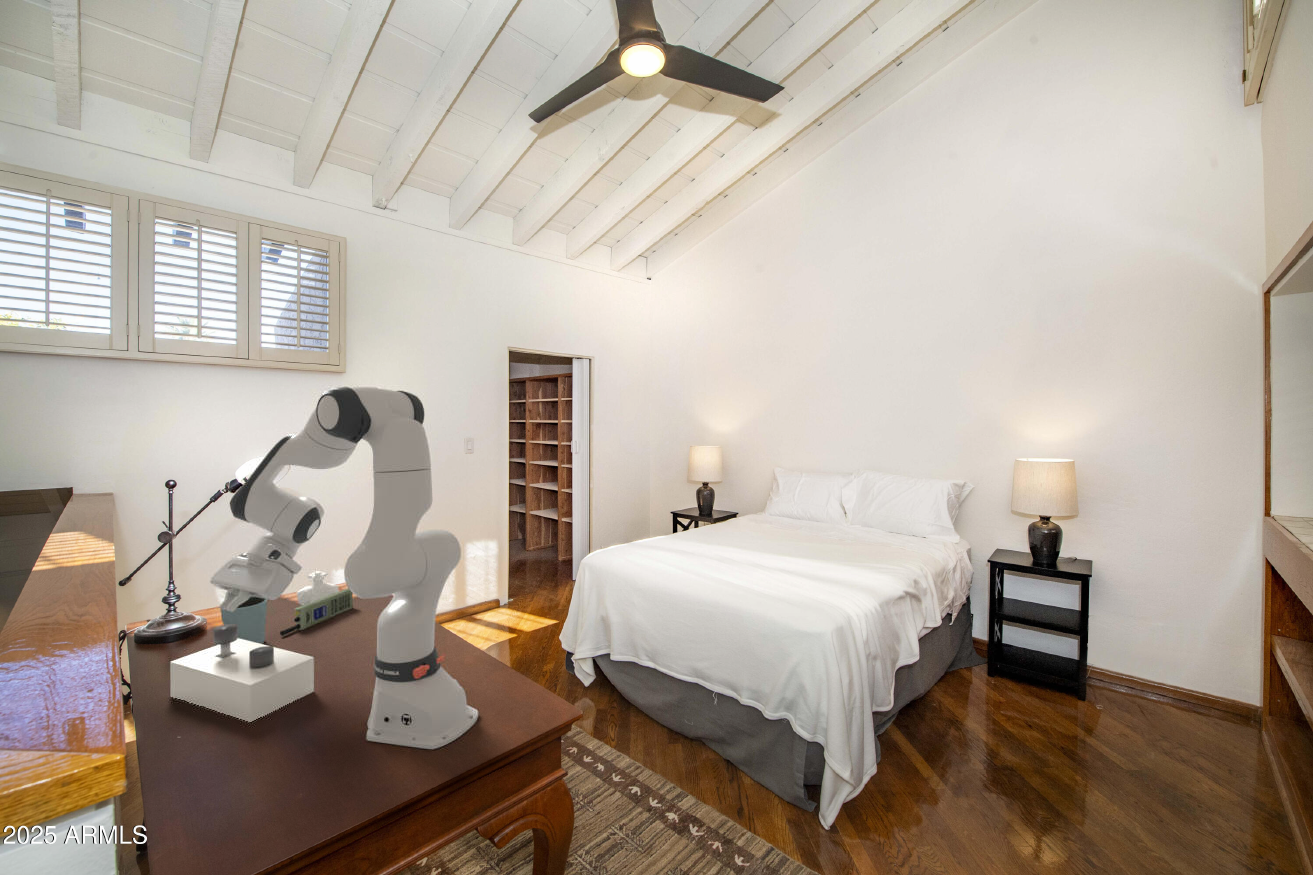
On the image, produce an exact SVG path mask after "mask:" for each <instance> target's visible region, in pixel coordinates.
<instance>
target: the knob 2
mask: <svg viewBox="0 0 1313 875" xmlns="http://www.w3.org/2000/svg"><path fill="white" fill-rule="evenodd" d="M273 647H274V646H270V645H267V646H264V647H259V648H255V649H253V650H251V651H250V652H249V667H250V668H259V669H260V668H262V667H266V666H269V665H271V664H272V663H273V662H274V648H273Z"/></svg>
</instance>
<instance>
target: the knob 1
mask: <svg viewBox="0 0 1313 875" xmlns="http://www.w3.org/2000/svg"><path fill="white" fill-rule="evenodd" d="M237 639H238V625H236V624H226V625H224V624H222V625H218V626H216V627H214V628H213V629H212V643H213V644H214V645H215V646H216V645H221V658H226V657H228V656H231V642H234V641H236V640H237Z"/></svg>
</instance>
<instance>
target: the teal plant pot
mask: <svg viewBox="0 0 1313 875" xmlns="http://www.w3.org/2000/svg"><path fill="white" fill-rule="evenodd" d="M267 606H268V599H265V598H260V597H255V596H250V598H249V599H248V600H247V601H245V602H244V603H242V604H241V605H239V606H238V607H237V608H236V609H235V611H233V612H230V611H226V610H223V609H221V608H220V607H219V608H220V613H221V614H220V615H221V621H222V625H226V624H236V625H238V638H239V639H243V640H247V641H251V642H255V643H259V644H263V645H264V643H265V640H266V639H265V638H266V629H265V628H266V621H267V618H266V615H267Z"/></svg>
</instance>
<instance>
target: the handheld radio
mask: <svg viewBox="0 0 1313 875" xmlns="http://www.w3.org/2000/svg"><path fill="white" fill-rule="evenodd" d="M353 595H354V594H353V593H352V592H351V591H350V589H349V588H348V587H346V588H344V589H342V590H339V592H336V593H334V594H331V595H329V596H326V597H323V598H321V599H318V600H316V601H313V602H310V603H308V604H305V605H303V606H302V605H300V606H298V607H295V608H294V609H293V610H294V611H295V612H294V615H295V618H294V620H293V621H294V622H295V623H296V624H295V625H294V626H291V627H288V628H286V629H283V630H280V632H279V635H280V636H285V635H287V634H290V633H292V632H294V631H296V630H299V631H303V630H306V629H307V628H310V627H313V626H314V625H318V624H319V623H322V622H324V621H326V620H328V619H331V618H333V617H335V616H338V615H339V614H342V613H344V612H347V611H349V610H352V609H353V608H354V606H353V604H354V601H353V599H354V598H353V597H354V596H353Z"/></svg>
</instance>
